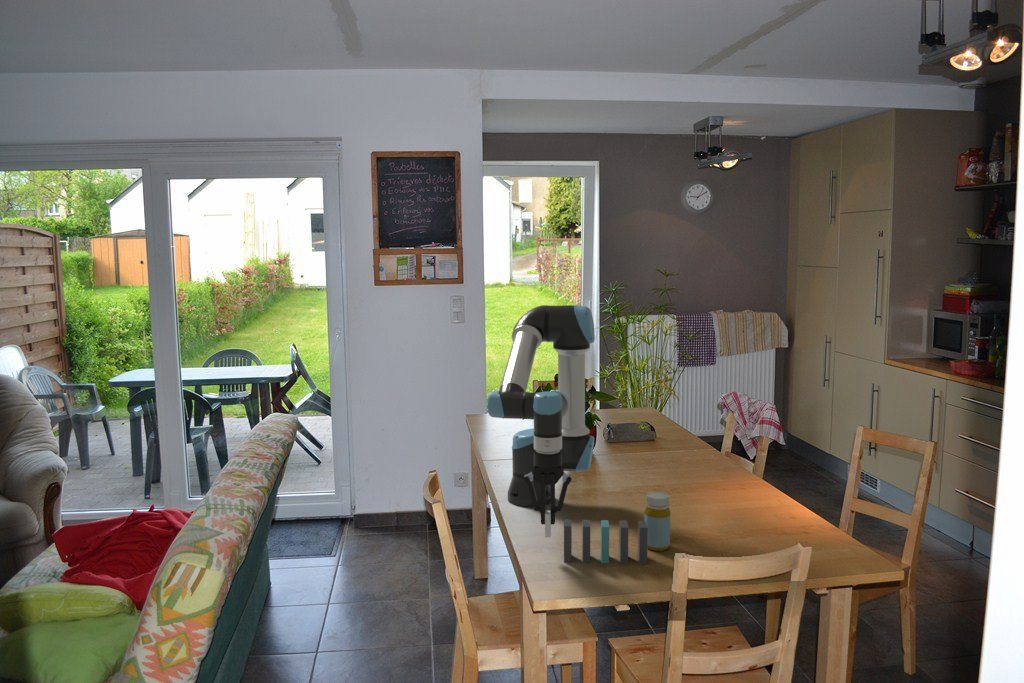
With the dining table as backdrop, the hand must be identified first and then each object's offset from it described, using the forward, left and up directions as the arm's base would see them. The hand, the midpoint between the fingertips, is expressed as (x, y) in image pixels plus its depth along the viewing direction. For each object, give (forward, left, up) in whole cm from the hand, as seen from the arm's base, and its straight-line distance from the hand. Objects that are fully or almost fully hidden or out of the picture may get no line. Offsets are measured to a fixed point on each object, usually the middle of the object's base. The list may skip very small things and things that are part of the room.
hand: (547, 535), depth 206 cm
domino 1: (0, +5, -7) cm, 8 cm away
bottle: (-9, +30, -7) cm, 32 cm away
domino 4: (0, +20, -7) cm, 21 cm away
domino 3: (0, +15, -7) cm, 17 cm away
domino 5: (0, +25, -7) cm, 26 cm away
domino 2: (0, +10, -7) cm, 12 cm away
